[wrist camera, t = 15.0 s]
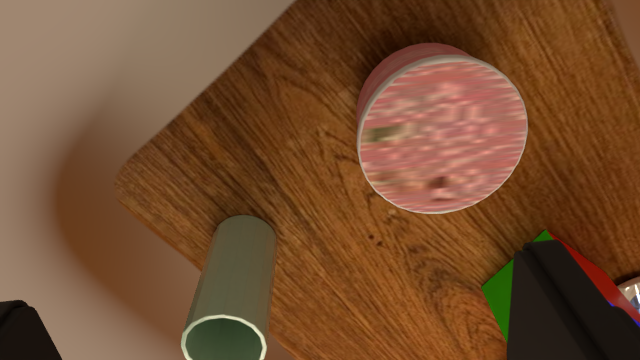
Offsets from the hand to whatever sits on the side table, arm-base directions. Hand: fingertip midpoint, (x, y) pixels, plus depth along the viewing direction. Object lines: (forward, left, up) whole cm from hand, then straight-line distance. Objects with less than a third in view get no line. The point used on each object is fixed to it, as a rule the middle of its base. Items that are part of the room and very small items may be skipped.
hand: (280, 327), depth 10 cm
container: (+6, +8, -28) cm, 30 cm away
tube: (+17, -7, -28) cm, 34 cm away
